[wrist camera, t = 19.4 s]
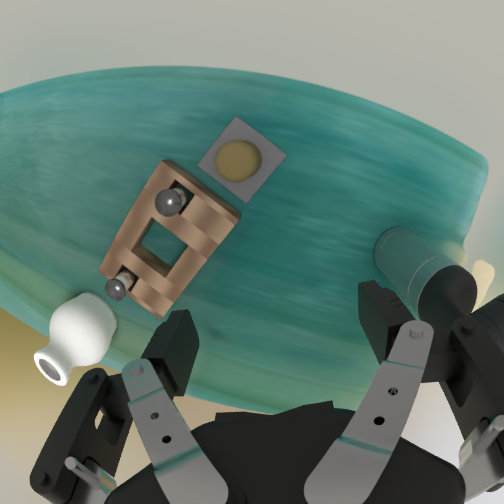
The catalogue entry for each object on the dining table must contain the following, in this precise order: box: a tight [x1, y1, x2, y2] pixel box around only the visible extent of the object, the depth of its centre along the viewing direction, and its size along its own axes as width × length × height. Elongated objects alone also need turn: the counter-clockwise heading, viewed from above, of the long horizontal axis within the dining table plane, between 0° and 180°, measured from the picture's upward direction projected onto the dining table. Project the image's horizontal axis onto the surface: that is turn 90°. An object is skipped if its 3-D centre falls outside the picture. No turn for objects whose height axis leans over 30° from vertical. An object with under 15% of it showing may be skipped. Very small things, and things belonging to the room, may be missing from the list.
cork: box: [215, 140, 262, 182], centre depth 36 cm, size 6×6×11 cm
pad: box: [197, 116, 287, 204], centre depth 41 cm, size 10×10×1 cm
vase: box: [34, 293, 117, 386], centre depth 45 cm, size 14×14×20 cm
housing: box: [99, 160, 241, 319], centre depth 45 cm, size 15×24×4 cm, turn 141°
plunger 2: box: [105, 267, 138, 301], centre depth 45 cm, size 4×4×8 cm
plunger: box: [155, 185, 193, 217], centre depth 39 cm, size 4×4×8 cm
